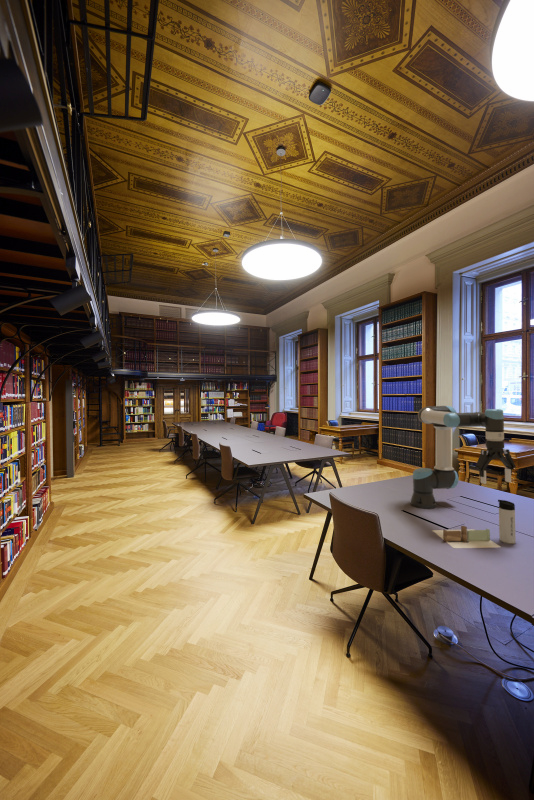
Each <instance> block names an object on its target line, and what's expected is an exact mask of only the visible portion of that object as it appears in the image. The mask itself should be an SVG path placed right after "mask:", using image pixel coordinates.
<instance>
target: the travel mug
mask: <svg viewBox="0 0 534 800" xmlns="http://www.w3.org/2000/svg"><path fill="white" fill-rule="evenodd" d="M497 502H498V533H499V534H498V537H499V539H498V540H499V541H500V542H501V543H503V544H507V545H515V544H516V537H517V536H516V505H515V503H514V502H511V501H509V500H505V499H497Z"/></svg>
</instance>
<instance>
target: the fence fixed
mask: <svg viewBox="0 0 534 800" xmlns="http://www.w3.org/2000/svg"><path fill="white" fill-rule="evenodd" d="M442 530H443V539H442V540H443V541H444V542H446V541H463V542H467V530H468V527H467V526H466V525H461V527H460V530H461V531H447V530H448V529H442Z"/></svg>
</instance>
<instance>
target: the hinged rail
mask: <svg viewBox="0 0 534 800" xmlns="http://www.w3.org/2000/svg"><path fill="white" fill-rule="evenodd" d="M490 534H491V530H490V529H489V528H485V529H474V530H473V529H467V540H468V541H475V540H491V535H490Z"/></svg>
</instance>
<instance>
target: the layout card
mask: <svg viewBox="0 0 534 800" xmlns="http://www.w3.org/2000/svg"><path fill="white" fill-rule="evenodd" d="M443 530H444V529H439V530H438V529H434V530H433V529H432V530H431V531H432V532H433V533H435V535H437V536H438V537H440V538H441V540H443ZM446 530H447V531H461V529H446ZM472 530H475V529H474V528H473V529H472ZM445 543H447V544H448V545H449V546H450V547H451V548H453V549H480V548H483V549H485V548H486V549H487V548H488V549H489V548H492V549H493V548H501V546H500V545H499V544H497V543H495V541H492V540H491V539H490V540H475V541H468V540H467V542H463V541H445Z"/></svg>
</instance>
